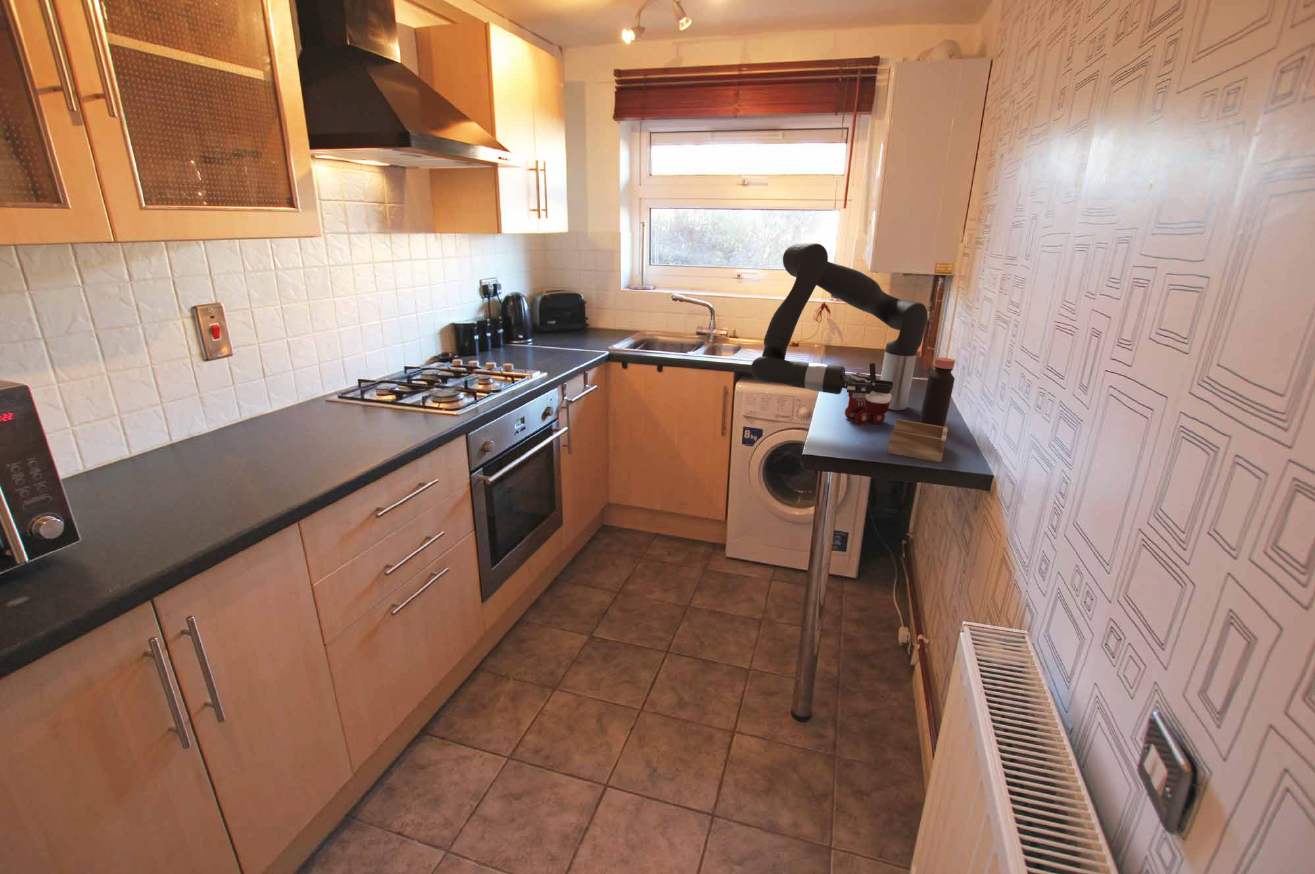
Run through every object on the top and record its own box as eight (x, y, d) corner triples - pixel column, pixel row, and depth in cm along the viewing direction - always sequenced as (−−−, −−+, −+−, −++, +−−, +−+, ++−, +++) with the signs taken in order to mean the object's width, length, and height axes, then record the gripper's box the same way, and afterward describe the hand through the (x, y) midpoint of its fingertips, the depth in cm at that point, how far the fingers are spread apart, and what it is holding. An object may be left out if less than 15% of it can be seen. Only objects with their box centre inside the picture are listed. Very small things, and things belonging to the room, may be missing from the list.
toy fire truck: (889, 424, 177) (895, 389, 174) (852, 425, 174) (857, 390, 170) (875, 417, 183) (881, 383, 180) (839, 418, 180) (844, 384, 177)
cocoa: (890, 420, 157) (901, 375, 152) (865, 417, 157) (875, 373, 152) (882, 407, 165) (892, 364, 160) (858, 404, 166) (868, 362, 161)
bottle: (918, 422, 179) (931, 355, 173) (943, 426, 177) (957, 358, 171) (919, 429, 173) (933, 360, 167) (945, 432, 171) (960, 363, 165)
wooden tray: (893, 437, 165) (897, 418, 163) (943, 446, 160) (948, 426, 158) (887, 452, 153) (891, 431, 152) (941, 462, 148) (945, 441, 146)
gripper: (820, 369, 157) (890, 379, 150) (831, 359, 169) (897, 368, 162) (817, 397, 160) (885, 408, 153) (828, 385, 172) (892, 395, 165)
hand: (891, 387), depth 157 cm, fingers closed on cocoa, 3 cm apart
